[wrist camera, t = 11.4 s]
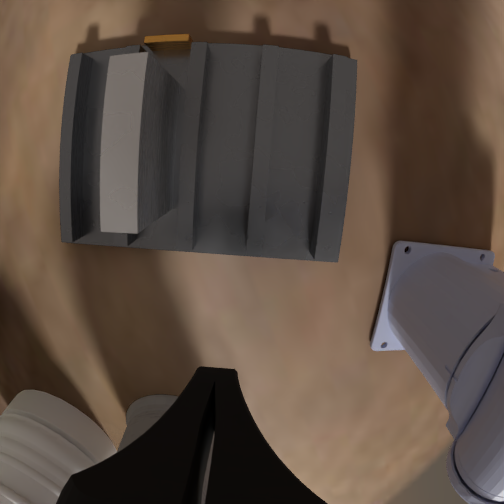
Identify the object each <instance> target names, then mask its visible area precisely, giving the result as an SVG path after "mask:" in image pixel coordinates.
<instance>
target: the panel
mask: <svg viewBox="0 0 504 504" xmlns="http://www.w3.org/2000/svg"><path fill="white" fill-rule="evenodd" d="M179 92H180V84H179V83H178V82H177V81H176V80H175V79H174V78H173V77H172V76H171V75H170V74H169V73H168V71H167V70H166V69H165V68H164V67H163V66H162V65H161V64H160V63H159V62H158V61H157V60H156V59H155V58H154V57H153V56H152V55H151V54H150V53H149V52H141V53H131V54H122V55H114V56H110V59H109V66H108V73H107V81H106V89H105V98H104V109H103V121H102V135H101V156H100V225H101V232H116V233H134V234H138V233H139V232H141V231H142V230H143V229H145V228H146V227H148V226H149V225H150V224H152V223H153V222H155V221H156V220H157V219H159V218H160V217H162V216H163V215H164V214H166V213H167V212H169V211H170V210H172V209H173V184H174V161H175V143H176V128H177V115H178V103H179Z"/></svg>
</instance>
